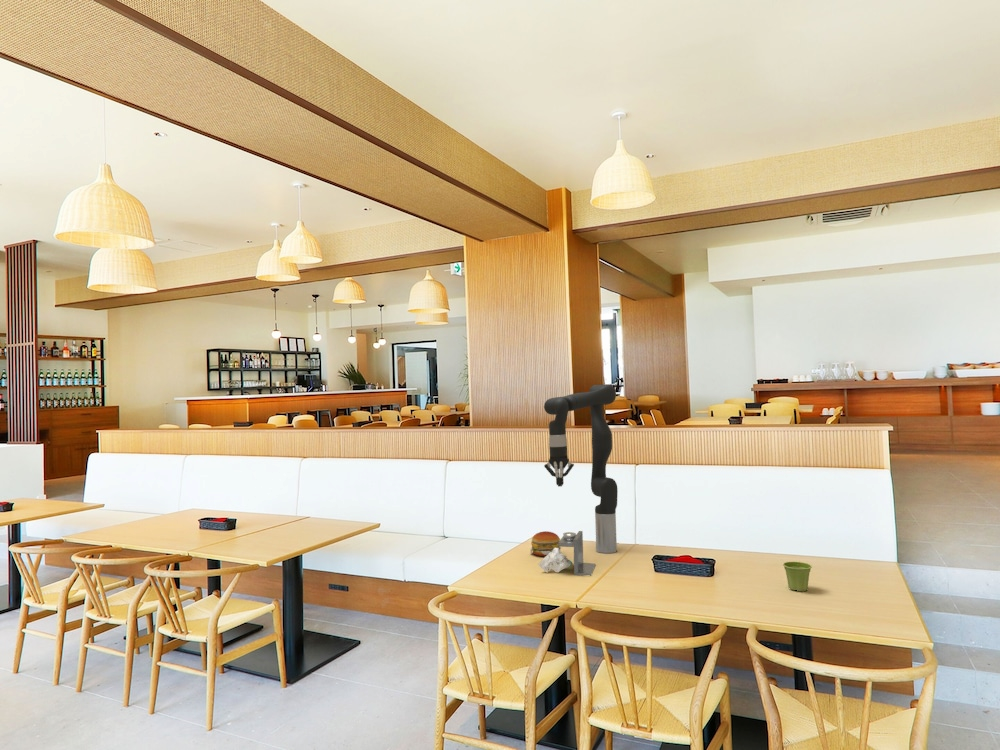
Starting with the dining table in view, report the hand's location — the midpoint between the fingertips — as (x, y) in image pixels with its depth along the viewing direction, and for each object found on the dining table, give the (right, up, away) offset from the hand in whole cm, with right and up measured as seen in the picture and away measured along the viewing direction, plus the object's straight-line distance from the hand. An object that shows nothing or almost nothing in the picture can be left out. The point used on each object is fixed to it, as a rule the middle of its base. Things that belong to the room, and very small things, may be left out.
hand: (560, 486), depth 272 cm
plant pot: (+81, -30, -43) cm, 96 cm away
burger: (-5, -34, +16) cm, 37 cm away
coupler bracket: (+7, -32, -11) cm, 35 cm away
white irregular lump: (-2, -33, -10) cm, 34 cm away
